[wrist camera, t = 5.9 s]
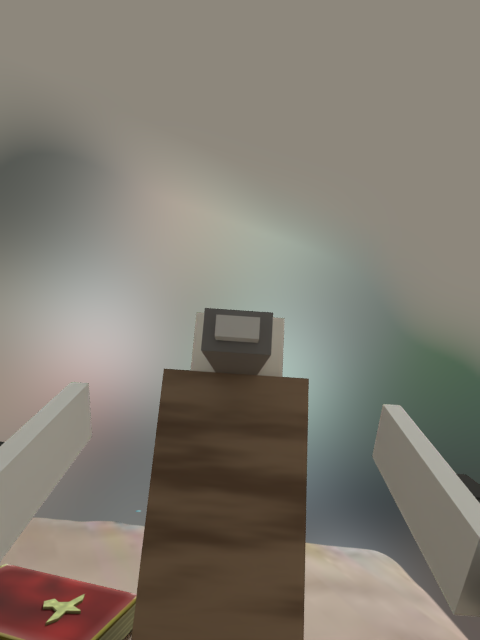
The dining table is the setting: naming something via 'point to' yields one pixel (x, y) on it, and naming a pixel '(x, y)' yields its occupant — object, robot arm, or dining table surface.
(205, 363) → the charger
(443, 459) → the robot arm
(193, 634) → the stand
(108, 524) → the dining table surface
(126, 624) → the hardcover book
